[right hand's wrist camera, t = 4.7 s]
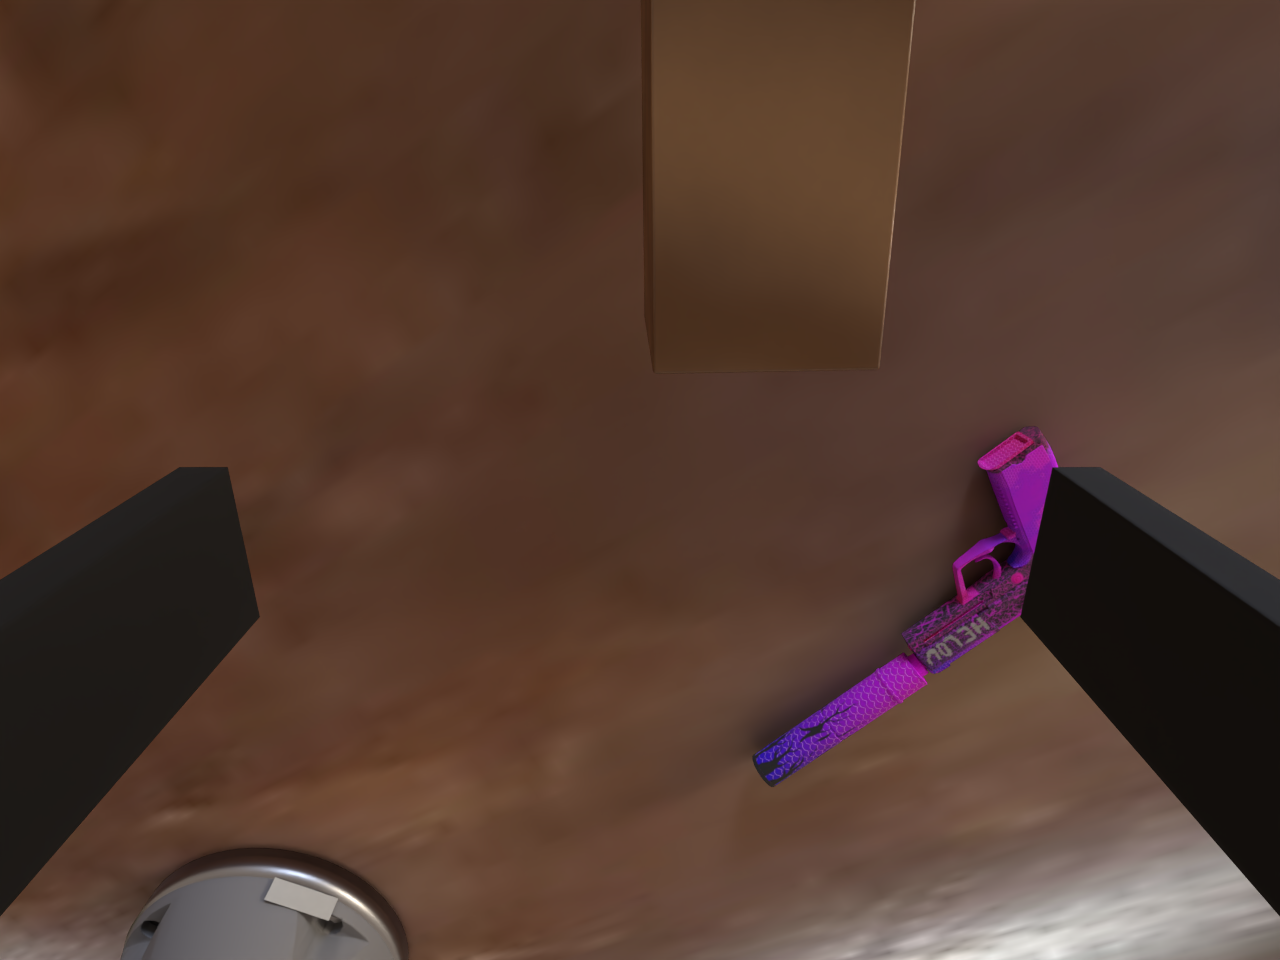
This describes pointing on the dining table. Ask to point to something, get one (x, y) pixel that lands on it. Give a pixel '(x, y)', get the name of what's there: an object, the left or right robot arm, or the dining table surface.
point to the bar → (770, 180)
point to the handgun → (939, 612)
